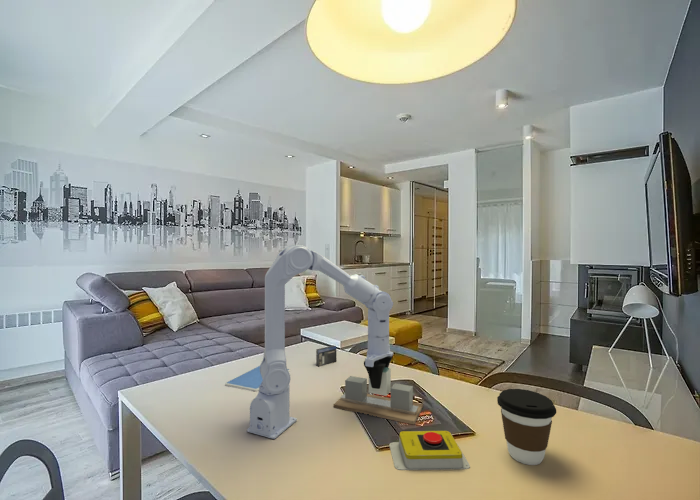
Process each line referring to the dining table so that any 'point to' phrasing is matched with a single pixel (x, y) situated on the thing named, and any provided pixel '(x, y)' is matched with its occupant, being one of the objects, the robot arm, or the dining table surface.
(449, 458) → the emergency button
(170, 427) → the dining table surface
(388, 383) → the block
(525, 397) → the coffee cup
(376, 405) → the rail
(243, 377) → the tablet computer
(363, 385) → the block
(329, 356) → the mini dv tape
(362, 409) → the board
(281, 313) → the robot arm
